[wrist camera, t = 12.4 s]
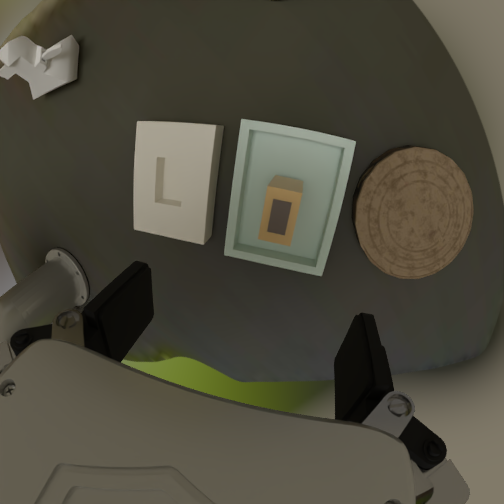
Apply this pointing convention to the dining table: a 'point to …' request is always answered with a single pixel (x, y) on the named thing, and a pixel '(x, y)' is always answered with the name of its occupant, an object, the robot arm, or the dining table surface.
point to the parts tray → (312, 201)
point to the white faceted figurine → (41, 63)
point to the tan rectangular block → (280, 210)
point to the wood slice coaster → (412, 211)
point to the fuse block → (176, 178)
